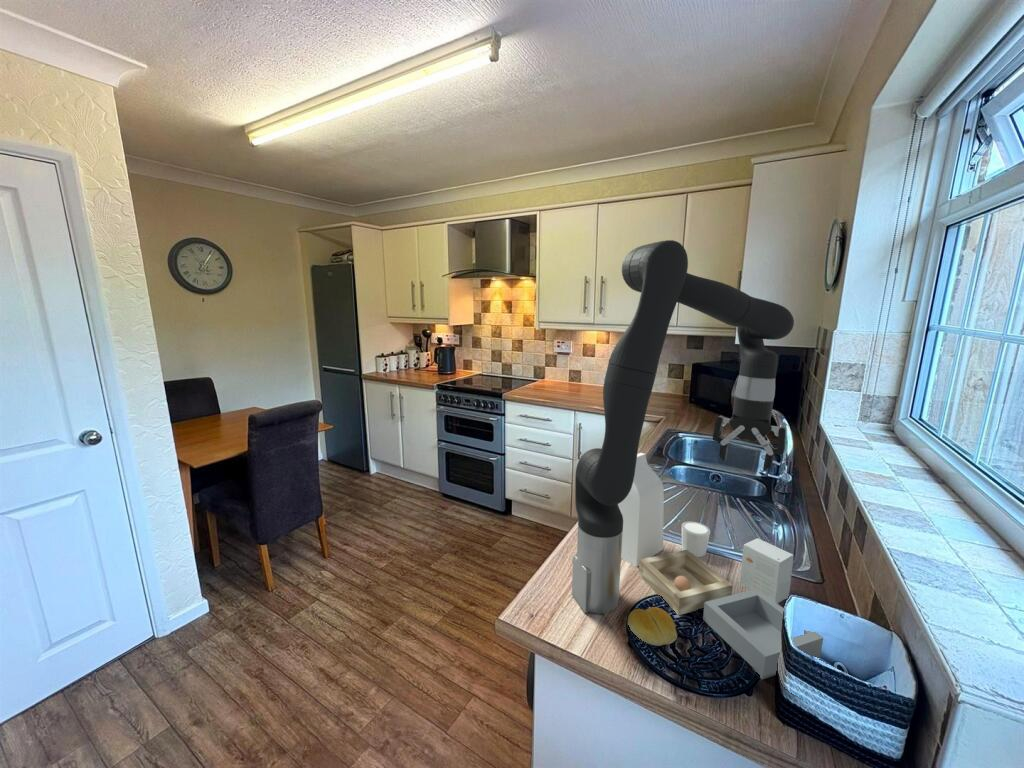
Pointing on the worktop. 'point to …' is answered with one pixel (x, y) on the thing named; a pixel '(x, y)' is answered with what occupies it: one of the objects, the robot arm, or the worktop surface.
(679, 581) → the ball
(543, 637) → the worktop surface
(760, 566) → the small box
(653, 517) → the milk
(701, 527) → the white cylinder
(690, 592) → the birch box
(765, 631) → the grey tub
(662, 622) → the bread roll
